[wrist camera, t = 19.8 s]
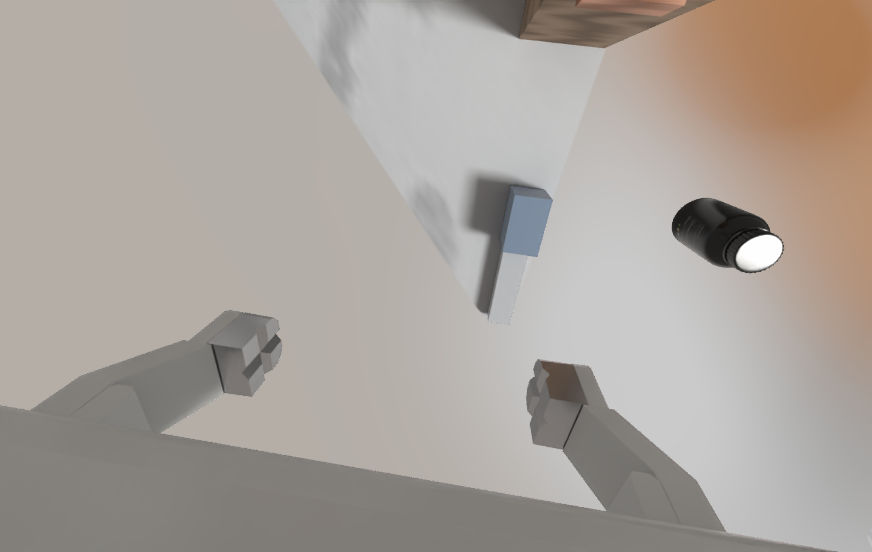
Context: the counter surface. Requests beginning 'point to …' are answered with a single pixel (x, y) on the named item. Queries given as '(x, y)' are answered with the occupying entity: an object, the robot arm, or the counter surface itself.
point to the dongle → (517, 247)
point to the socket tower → (597, 19)
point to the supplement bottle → (727, 235)
